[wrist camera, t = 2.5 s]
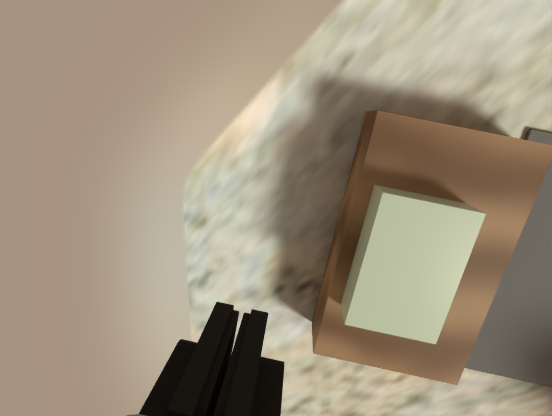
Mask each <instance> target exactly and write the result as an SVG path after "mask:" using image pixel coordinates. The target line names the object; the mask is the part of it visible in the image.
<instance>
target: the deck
mask: <svg viewBox="0 0 552 416" xmlns="http://www.w3.org/2000/svg"><path fill="white" fill-rule="evenodd" d="M551 161H552V145H548V144H543V143H538V142H533V141H528V140H523V139H518V138H513V137H508V136H503V135H498V134H493V133H488V132H483V131H478V130H473V129H468V128H463V127H458V126H453V125H448V124H443V123H438V122H433V121H428V120H423V119H418V118H413V117H408V116H403V115H398V114H393V113H388V112H383V111H369V112H366V114H365V118H364V122H363V126H362V130H361V134H360V137H359V141H358V145H357V149H356V153H355V157H354V161H353V165H352V168H351V172H350V176H349V180H348V184H347V188H346V192H345V196H344V200H343V203H342V207H341V211H340V215H339V219H338V223H337V227H336V231H335V234H334V238H333V242H332V246H331V250H330V254H329V258H328V262H327V265H326V269H325V273H324V277H323V281H322V285H321V289H320V293H319V297H318V300H317V304H316V308H315V312H314V316H313V320H312V336H313V353H314V354H318V355H323V356H328V357H332V358H337V359H341V360H346V361H350V362H355V363H359V364H364V365H369V366H373V367H378V368H382V369H387V370H391V371H396V372H401V373H405V374H410V375H414V376H419V377H423V378H428V379H432V380H437V381H442V382H446V383H451V384H455V385H457V384H458V382H459V379H460V377H461V375H462V372H463V370H464V367H465V365H466V363H467V360H468V358H469V356H470V353H471V351H472V348H473V346H474V344H475V341H476V339H477V337H478V334H479V332H480V329H481V327H482V325H483V322H484V320H485V318H486V315H487V313H488V310H489V308H490V306H491V303H492V301H493V299H494V296H495V294H496V291H497V289H498V287H499V284H500V282H501V280H502V277H503V275H504V272H505V270H506V268H507V265H508V263H509V261H510V258H511V256H512V253H513V251H514V249H515V246H516V244H517V242H518V239H519V237H520V234H521V232H522V230H523V227H524V225H525V223H526V220H527V218H528V215H529V213H530V211H531V208H532V206H533V204H534V201H535V199H536V197H537V194H538V192H539V189H540V187H541V185H542V182H543V180H544V178H545V175H546V173H547V170H548V168H549V166H550V163H551ZM374 185H379V186H384V187H389V188H393V189H398V190H403V191H408V192H413V193H418V194H423V195H427V196H432V197H437V198H442V199H447V200H452V201H457V202H462V203H466V204H468V205H470V206H472V207H474V208H476V209H478V210H480V211H482V212H484V213H486V215H485V218H484V220H483V223H482V226H481V228H480V231H479V233H478V236H477V239H476V241H475V244H474V246H473V249H472V252H471V254H470V257H469V259H468V262H467V265H466V267H465V270H464V272H463V275H462V278H461V280H460V283H459V286H458V288H457V291H456V293H455V296H454V299H453V301H452V304H451V306H450V309H449V312H448V314H447V317H446V319H445V322H444V325H443V327H442V330H441V332H440V335H439V338H438V340H437V343H436V344H432V343H427V342H422V341H418V340H413V339H409V338H404V337H399V336H395V335H390V334H385V333H381V332H376V331H372V330H367V329H362V328H358V327H353V326H349V325H345V324H344V319H343V314H342V309H341V302H342V298H343V295H344V291H345V287H346V284H347V280H348V277H349V273H350V270H351V266H352V262H353V259H354V255H355V252H356V248H357V245H358V241H359V237H360V234H361V230H362V227H363V223H364V220H365V216H366V212H367V209H368V205H369V202H370V198H371V195H372V191H373V188H374Z"/></svg>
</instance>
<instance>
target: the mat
mask: <svg viewBox="0 0 552 416" xmlns="http://www.w3.org/2000/svg"><path fill="white" fill-rule="evenodd" d="M525 140H528V141H533V142H538V143H543V144H548V145H552V133H547V132H542V131H537V130H532V129H529V130H528V133H527V136H526V138H525ZM464 368H468V369H472V370H477V371H482V372H486V373H491V374H495V375H500V376H505V377H509V378H514V379H518V380H523V381H527V382H532V383H537V384H541V385H546V386H550V387H552V161H551V163H550V166H549V168H548V170H547V173H546V175H545V178H544V180H543V182H542V185H541V187H540V189H539V192H538V194H537V197H536V199H535V201H534V204H533V206H532V208H531V211H530V213H529V215H528V218H527V220H526V223H525V225H524V227H523V230H522V232H521V234H520V237H519V239H518V242H517V244H516V246H515V249H514V251H513V253H512V256H511V258H510V261H509V263H508V265H507V268H506V270H505V272H504V275H503V277H502V280H501V282H500V284H499V287H498V289H497V291H496V294H495V296H494V299H493V301H492V303H491V306H490V308H489V310H488V313H487V315H486V318H485V320H484V322H483V325H482V327H481V329H480V332H479V334H478V337H477V339H476V341H475V344H474V346H473V348H472V351H471V353H470V356H469V358H468V360H467V363H466V365H465V367H464Z"/></svg>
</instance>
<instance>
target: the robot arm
mask: <svg viewBox="0 0 552 416" xmlns="http://www.w3.org/2000/svg"><path fill="white" fill-rule="evenodd" d="M233 308H234V305H230V304H225V303H220V302H216V304H215V306H214V309H213V311H212V313H211V315H210V317H209V319H208V322H207V324H206V326H205V328H204V330H203V332H202V334H201V337H200V339H199V341H198V343H196V342H192V341H187V340H183V339H181V340H179V342H178V343H177V345H176V347H175V349H174V351H173V352H172V354H171V356H170V358H169V360H168V362H167V363H166V365H165V367H164V369H163V371H162V372H161V374H160V376H159V378H158V380H157V381H156V383H155V385H154V387H153V389H152V391H151V393H150V394H149V396H148V398H147V400H146V402H145V403H144V405H143V407H142V409H141V411H140V413H139V414H136V415H127V416H280V414H281V401H282V388H283V375H284V362H282V361H278V360H273V359H269V358H264V357H261V351H262V346H263V340H264V335H265V329H266V323H267V318H268V313H266V312H262V311H257V310H253V309H252V311H251V314H249V313H244V315H243V318H242V321H241V325H240V328H239V331H238V335H237V338H236V341H235V345H234V348H233V343H234V337H235V332H236V327H237V321H238V316H239V311H235V310H233ZM232 348H233V351H232ZM231 354H232V355H231Z"/></svg>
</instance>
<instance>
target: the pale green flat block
mask: <svg viewBox="0 0 552 416" xmlns="http://www.w3.org/2000/svg"><path fill="white" fill-rule="evenodd" d="M485 215H486V213H484V212H482V211H480V210H478V209H476V208H474V207H472V206H470V205H468V204H466V203H462V202H457V201H452V200H447V199H442V198H437V197H432V196H427V195H423V194H418V193H413V192H408V191H403V190H398V189H393V188H389V187H384V186H379V185H374V188H373V191H372V195H371V198H370V202H369V205H368V209H367V212H366V216H365V220H364V223H363V227H362V230H361V234H360V237H359V241H358V245H357V248H356V252H355V255H354V259H353V262H352V266H351V270H350V273H349V277H348V280H347V284H346V287H345V291H344V295H343V298H342V302H341V309H342V314H343V319H344V324H345V325H349V326H353V327H358V328H362V329H367V330H372V331H376V332H381V333H385V334H390V335H395V336H399V337H404V338H409V339H413V340H418V341H422V342H427V343H432V344H436V343H437V340H438V338H439V335H440V332H441V330H442V327H443V325H444V322H445V319H446V317H447V314H448V312H449V309H450V306H451V304H452V301H453V299H454V296H455V293H456V291H457V288H458V286H459V283H460V280H461V278H462V275H463V272H464V270H465V267H466V265H467V262H468V259H469V257H470V254H471V252H472V249H473V246H474V244H475V241H476V239H477V236H478V233H479V231H480V228H481V226H482V223H483V220H484V218H485Z"/></svg>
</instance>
